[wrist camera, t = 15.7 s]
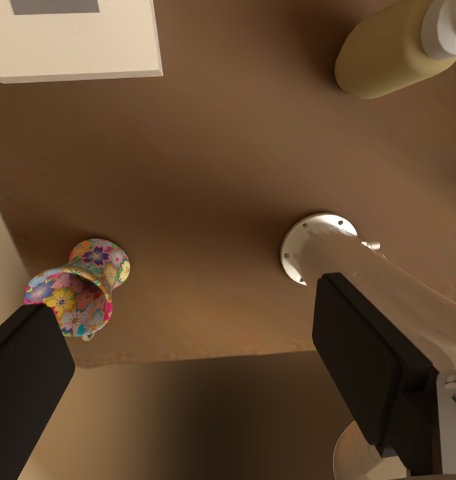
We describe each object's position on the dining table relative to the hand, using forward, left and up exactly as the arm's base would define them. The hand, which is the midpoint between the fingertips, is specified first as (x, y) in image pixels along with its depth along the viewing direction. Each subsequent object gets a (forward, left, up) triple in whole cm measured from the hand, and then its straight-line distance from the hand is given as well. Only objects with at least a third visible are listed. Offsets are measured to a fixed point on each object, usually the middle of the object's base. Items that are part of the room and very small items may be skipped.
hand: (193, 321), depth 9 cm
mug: (+16, +12, -28) cm, 35 cm away
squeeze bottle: (-21, -13, -28) cm, 38 cm away
